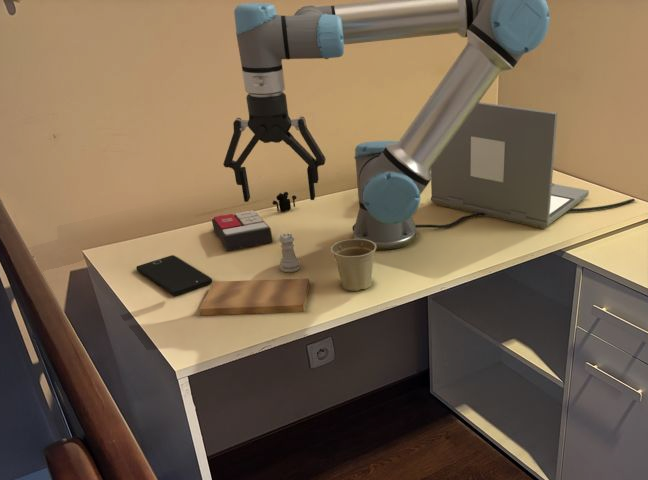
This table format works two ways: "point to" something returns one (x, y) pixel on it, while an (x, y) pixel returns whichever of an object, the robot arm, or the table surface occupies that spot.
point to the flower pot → (354, 262)
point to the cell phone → (174, 275)
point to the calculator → (241, 230)
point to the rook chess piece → (288, 254)
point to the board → (256, 296)
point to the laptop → (503, 167)
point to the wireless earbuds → (284, 202)
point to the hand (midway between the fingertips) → (280, 199)
